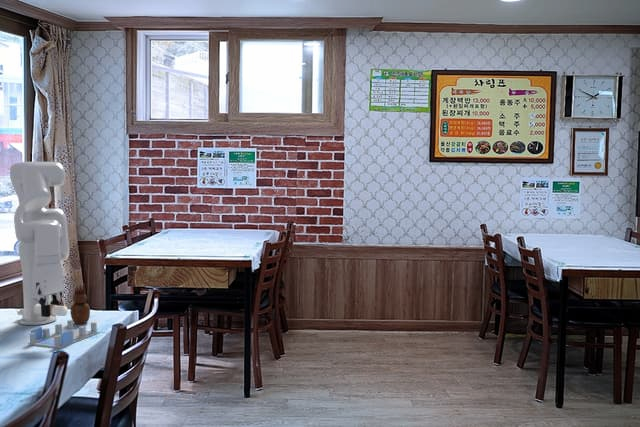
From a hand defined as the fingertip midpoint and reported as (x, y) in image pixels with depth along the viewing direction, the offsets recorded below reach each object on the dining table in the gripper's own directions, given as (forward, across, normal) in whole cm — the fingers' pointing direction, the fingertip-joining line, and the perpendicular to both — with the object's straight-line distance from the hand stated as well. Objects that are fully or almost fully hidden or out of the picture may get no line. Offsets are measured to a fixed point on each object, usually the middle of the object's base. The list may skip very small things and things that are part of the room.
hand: (50, 314), depth 215 cm
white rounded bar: (-1, 0, 0) cm, 1 cm away
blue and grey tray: (+10, -6, 0) cm, 12 cm away
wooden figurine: (+10, -25, -9) cm, 29 cm away
